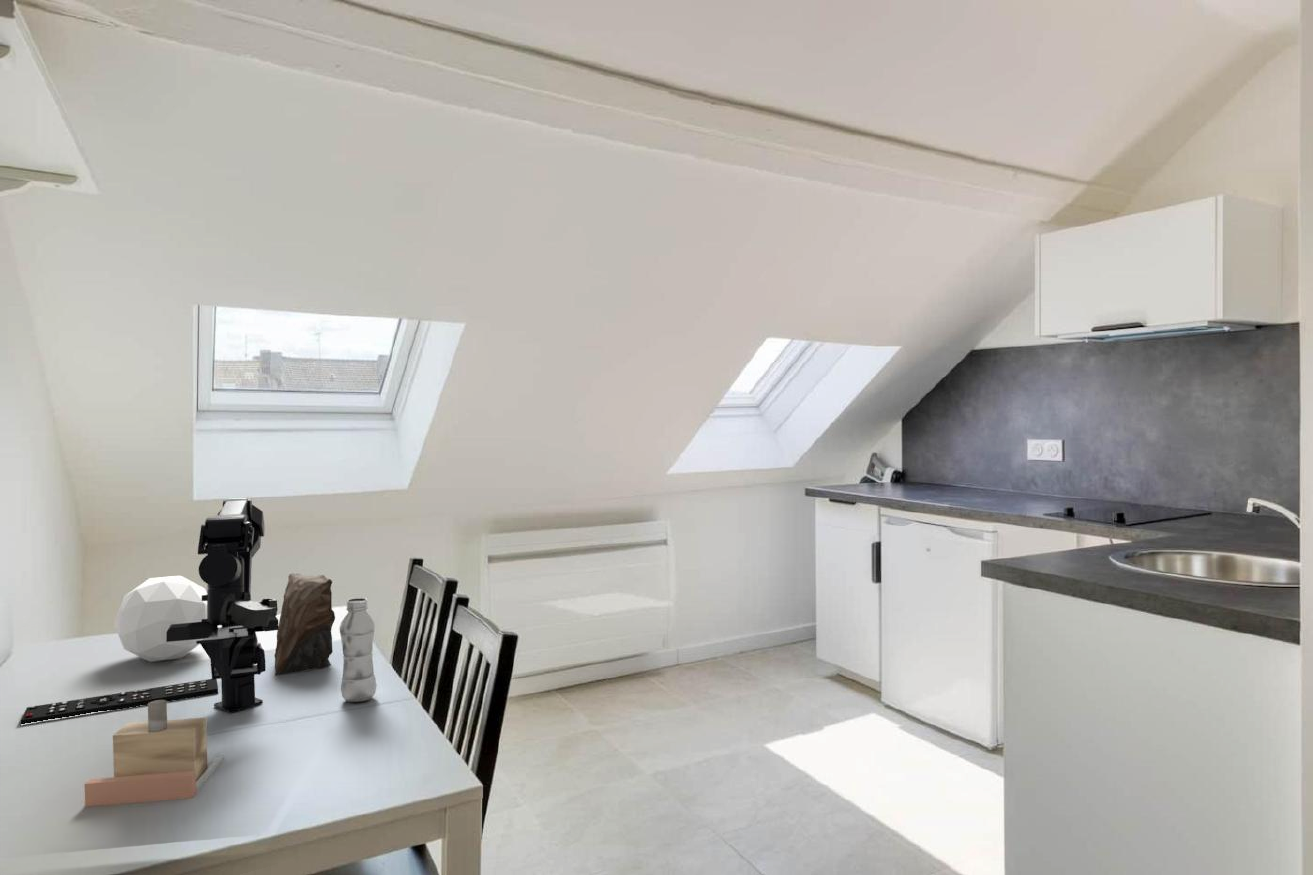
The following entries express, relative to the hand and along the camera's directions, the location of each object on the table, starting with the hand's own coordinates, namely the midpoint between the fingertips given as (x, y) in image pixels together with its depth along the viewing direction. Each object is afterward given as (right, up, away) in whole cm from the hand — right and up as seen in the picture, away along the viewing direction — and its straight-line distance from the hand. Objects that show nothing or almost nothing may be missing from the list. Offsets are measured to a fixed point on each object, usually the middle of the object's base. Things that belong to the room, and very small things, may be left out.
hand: (225, 679), depth 137 cm
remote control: (-30, -11, +19) cm, 38 cm away
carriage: (-1, -10, -16) cm, 19 cm away
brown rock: (-6, -10, +41) cm, 43 cm away
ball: (-40, -10, +48) cm, 63 cm away
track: (-1, -12, -17) cm, 20 cm away
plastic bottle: (+16, -11, +20) cm, 28 cm away
